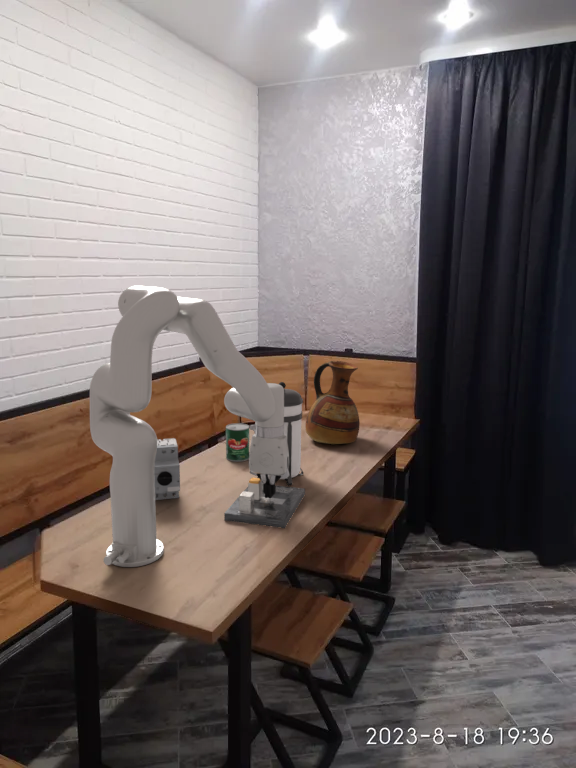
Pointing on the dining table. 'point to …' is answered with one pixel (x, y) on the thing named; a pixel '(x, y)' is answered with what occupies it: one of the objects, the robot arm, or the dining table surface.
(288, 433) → the coffee press
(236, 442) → the canned tomato
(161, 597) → the dining table surface
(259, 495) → the toggle
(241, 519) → the panel
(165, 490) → the circuit breaker
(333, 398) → the ceramic pitcher
